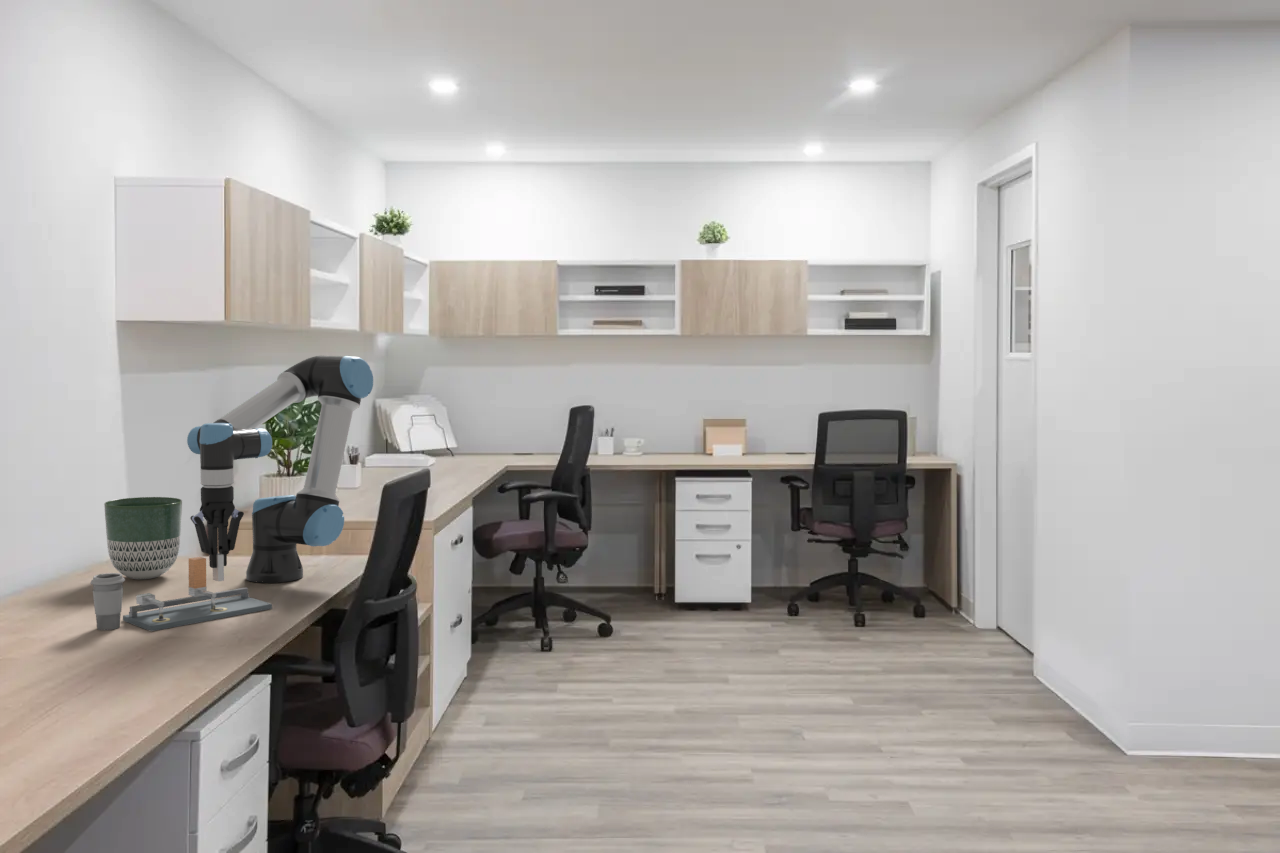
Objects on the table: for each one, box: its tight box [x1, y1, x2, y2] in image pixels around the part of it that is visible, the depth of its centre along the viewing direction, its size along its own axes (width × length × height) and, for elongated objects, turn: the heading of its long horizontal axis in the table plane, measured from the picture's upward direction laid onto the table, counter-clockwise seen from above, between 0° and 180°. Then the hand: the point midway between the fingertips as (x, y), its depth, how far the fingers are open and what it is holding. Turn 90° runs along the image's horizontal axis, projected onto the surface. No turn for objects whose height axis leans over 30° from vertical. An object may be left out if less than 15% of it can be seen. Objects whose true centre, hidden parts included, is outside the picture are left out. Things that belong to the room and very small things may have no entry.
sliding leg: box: [188, 556, 216, 610], centre depth 252 cm, size 3×10×11 cm, turn 50°
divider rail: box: [128, 587, 250, 619], centre depth 251 cm, size 29×10×5 cm, turn 140°
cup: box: [90, 572, 126, 631], centre depth 237 cm, size 7×7×12 cm
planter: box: [103, 496, 183, 580], centre depth 290 cm, size 20×20×21 cm
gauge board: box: [122, 594, 273, 632], centre depth 251 cm, size 30×14×1 cm, turn 140°
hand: (218, 580), depth 258 cm, fingers closed
